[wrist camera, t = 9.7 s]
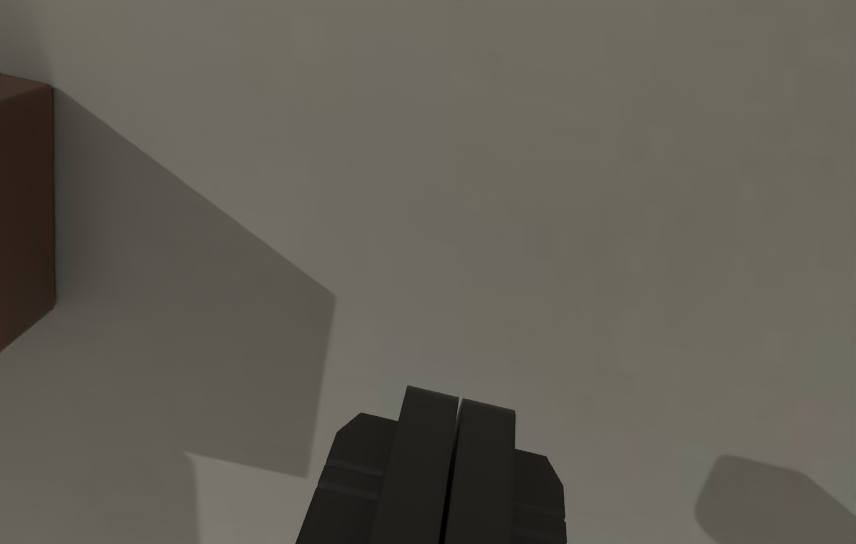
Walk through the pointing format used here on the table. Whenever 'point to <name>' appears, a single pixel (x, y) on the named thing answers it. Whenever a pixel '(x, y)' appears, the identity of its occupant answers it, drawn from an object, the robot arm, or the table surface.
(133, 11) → the table surface
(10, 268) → the walnut block
